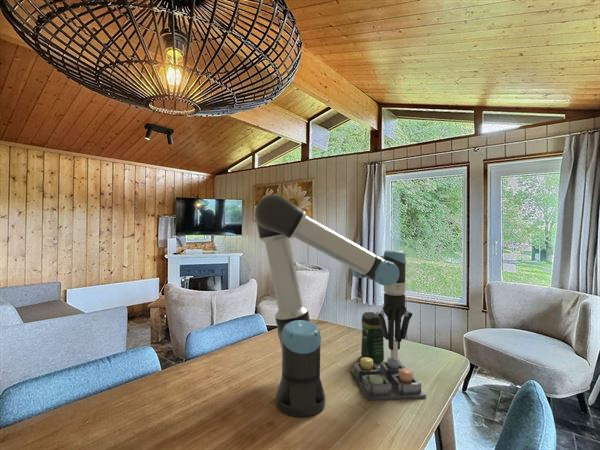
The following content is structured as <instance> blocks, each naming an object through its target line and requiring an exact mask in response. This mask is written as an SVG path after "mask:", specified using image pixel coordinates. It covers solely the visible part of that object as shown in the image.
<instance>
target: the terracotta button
mask: <svg viewBox="0 0 600 450" xmlns="http://www.w3.org/2000/svg"><path fill="white" fill-rule="evenodd" d="M413 373H414V372H413V370H411V369H408V368H407V369H404V368H402V369H399V381H400V382H402V383H412V382H413V375H414V374H413Z"/></svg>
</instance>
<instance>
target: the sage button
mask: <svg viewBox="0 0 600 450" xmlns="http://www.w3.org/2000/svg"><path fill="white" fill-rule="evenodd" d="M370 383H371V384H383V377H381V376H379V375H371V376H370Z"/></svg>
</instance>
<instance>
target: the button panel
mask: <svg viewBox="0 0 600 450" xmlns="http://www.w3.org/2000/svg"><path fill="white" fill-rule="evenodd" d="M402 368H404V369H408V368H406V366H405V365H404V364H403V363H402V362H401V361H400V369H402ZM350 373H351V374H352V376H353V378H354V379H355V381H356V383H357V384H358V386H359V388H360V390H361V392H362V393H363V395H364V397H365V398H366V400H367V401H387V400H388V401H389V400H393V401H394V400H407V399H408V400H409V399H410V400H411V399H412V400H414V399H426V398H427V395H426V393H425V392H424V391H423V390H422V382H421V381H420V380H418V378H417V377H416V376H414V374H413V382H412V383H402V382H400V381H399V369H389V368H388V367H387V361H382V362H380V363H379V367H378V366H377V365H376V363H373V370H362V369H361V361H360V362H355V363H353V368H350ZM371 375H379V376H381V377H383V384H371V383H370V376H371Z"/></svg>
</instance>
